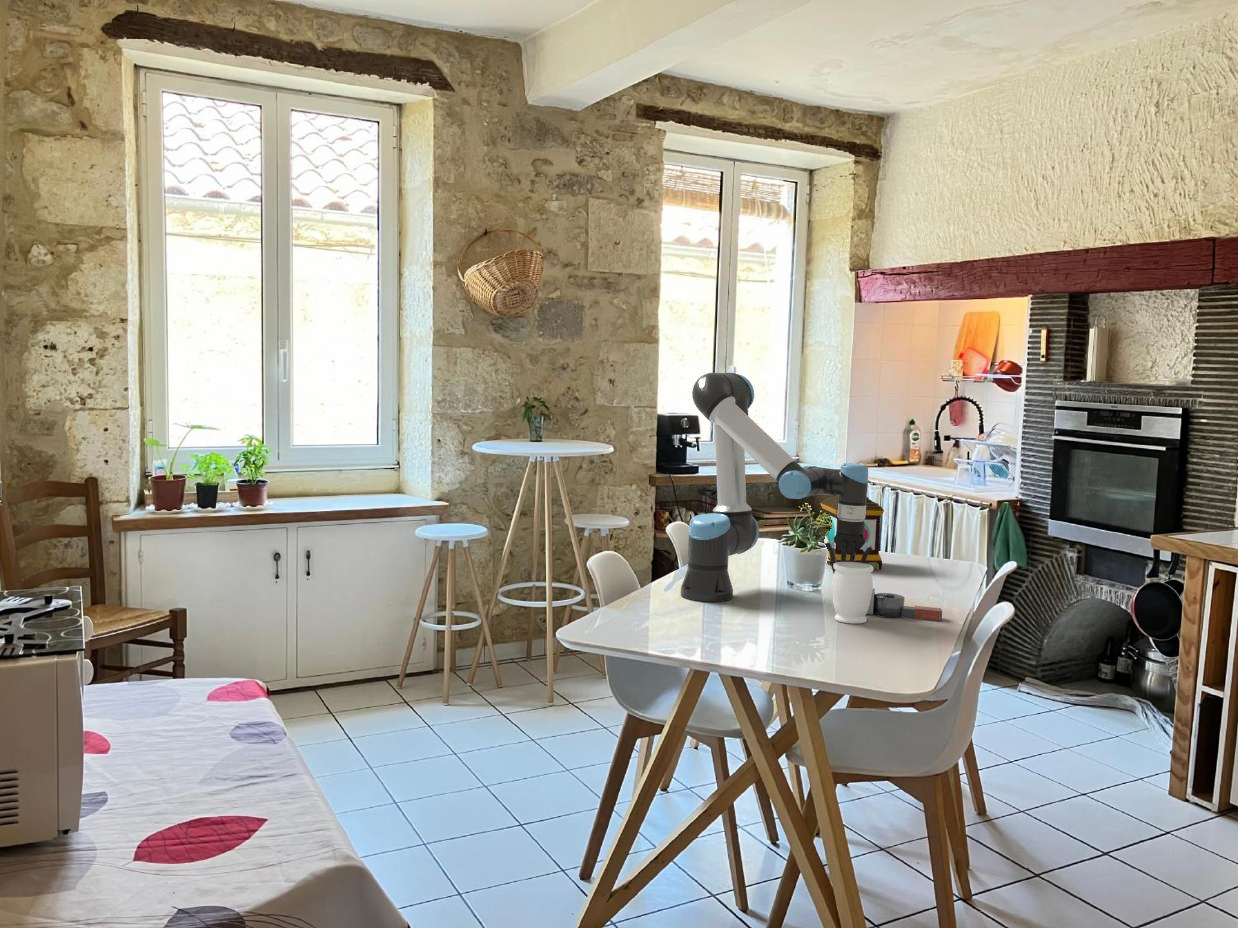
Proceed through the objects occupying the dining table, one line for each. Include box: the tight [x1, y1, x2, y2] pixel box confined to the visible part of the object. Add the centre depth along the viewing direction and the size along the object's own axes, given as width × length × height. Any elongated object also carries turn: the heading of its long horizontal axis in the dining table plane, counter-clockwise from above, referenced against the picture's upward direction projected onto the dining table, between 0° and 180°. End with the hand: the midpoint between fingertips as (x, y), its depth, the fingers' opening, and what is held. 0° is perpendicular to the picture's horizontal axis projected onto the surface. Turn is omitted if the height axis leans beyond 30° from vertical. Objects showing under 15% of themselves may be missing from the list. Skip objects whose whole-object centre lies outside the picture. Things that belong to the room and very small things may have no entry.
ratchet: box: [873, 592, 943, 622], centre depth 270 cm, size 22×8×6 cm, turn 73°
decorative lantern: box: [820, 496, 885, 571], centre depth 337 cm, size 20×20×30 cm
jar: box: [831, 562, 874, 625], centre depth 263 cm, size 11×10×15 cm
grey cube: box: [865, 588, 876, 615], centre depth 273 cm, size 6×6×6 cm
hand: (844, 603), depth 274 cm, fingers closed
